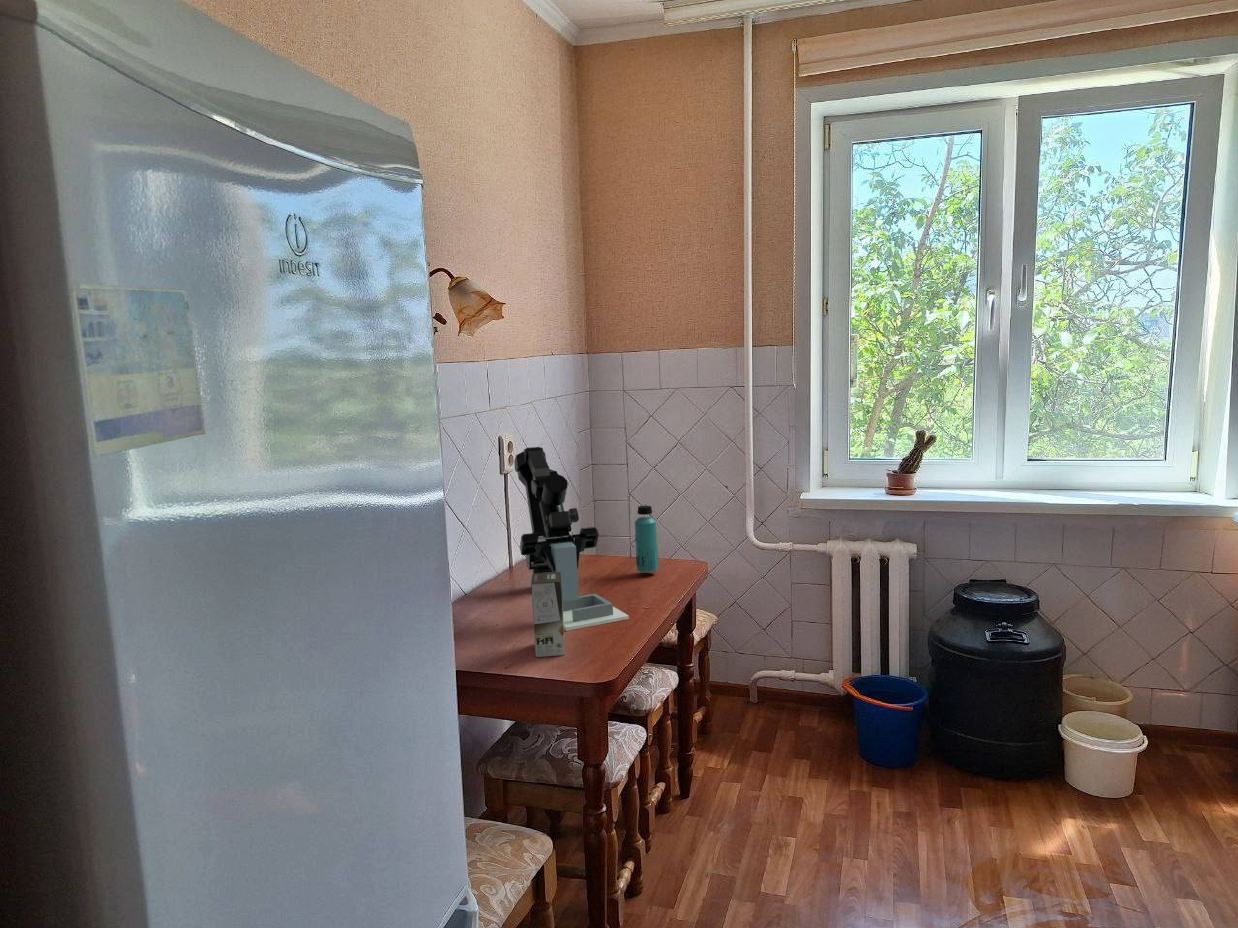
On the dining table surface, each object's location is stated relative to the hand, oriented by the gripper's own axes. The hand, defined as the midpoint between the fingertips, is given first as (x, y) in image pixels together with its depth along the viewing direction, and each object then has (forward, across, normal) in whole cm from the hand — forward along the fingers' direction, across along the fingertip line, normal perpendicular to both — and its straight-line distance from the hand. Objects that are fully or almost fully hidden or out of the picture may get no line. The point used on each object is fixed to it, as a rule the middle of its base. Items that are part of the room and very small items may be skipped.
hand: (565, 570), depth 196 cm
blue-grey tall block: (+4, 0, +6) cm, 7 cm away
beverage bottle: (-14, +30, +32) cm, 46 cm away
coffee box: (+21, -8, -3) cm, 23 cm away
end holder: (+7, +5, +10) cm, 13 cm away
